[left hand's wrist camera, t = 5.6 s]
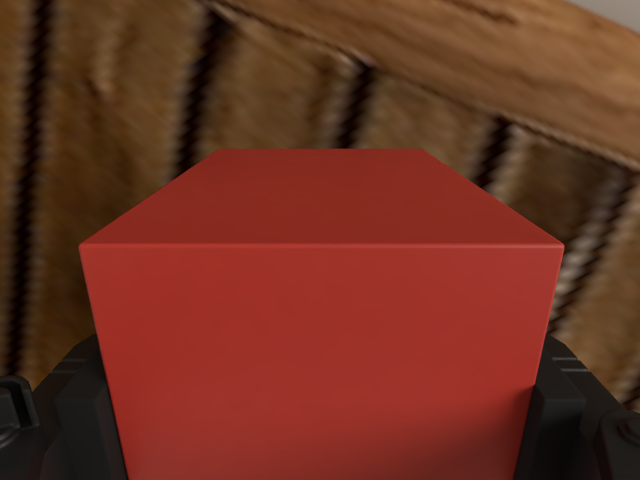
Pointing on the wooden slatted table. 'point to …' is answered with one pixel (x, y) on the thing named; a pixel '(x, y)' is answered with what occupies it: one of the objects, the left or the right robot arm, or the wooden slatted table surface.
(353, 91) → the wooden slatted table surface
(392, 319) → the brick
